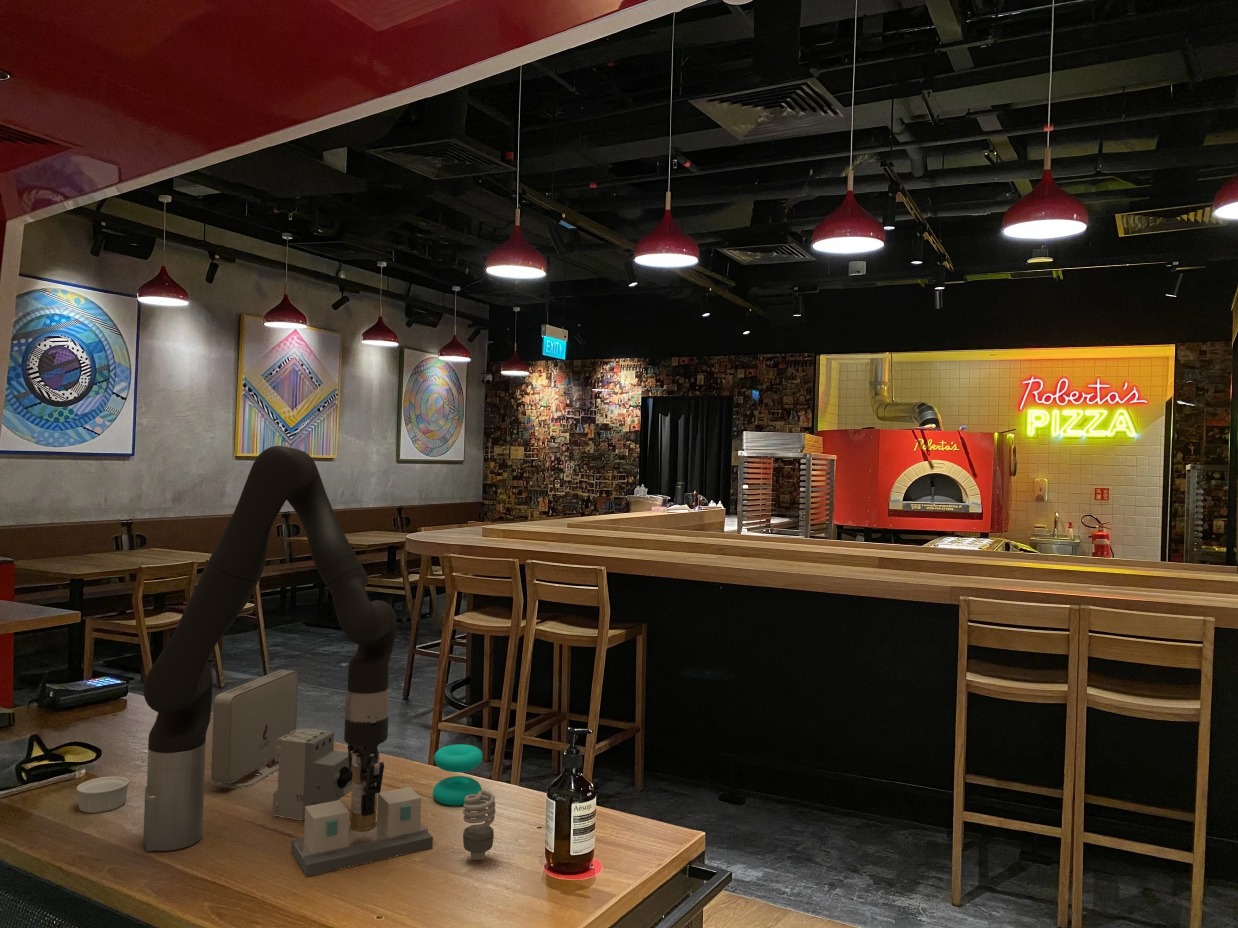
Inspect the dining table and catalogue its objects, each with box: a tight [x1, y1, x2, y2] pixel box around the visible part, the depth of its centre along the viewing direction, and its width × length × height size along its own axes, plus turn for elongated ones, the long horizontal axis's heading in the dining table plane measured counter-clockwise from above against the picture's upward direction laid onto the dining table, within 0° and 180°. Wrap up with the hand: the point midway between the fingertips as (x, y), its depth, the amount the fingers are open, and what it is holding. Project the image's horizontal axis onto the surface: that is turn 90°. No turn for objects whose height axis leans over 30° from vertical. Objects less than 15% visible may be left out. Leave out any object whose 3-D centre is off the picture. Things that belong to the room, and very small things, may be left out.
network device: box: [210, 669, 299, 789], centre depth 188 cm, size 26×9×20 cm, turn 170°
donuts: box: [432, 743, 484, 806], centre depth 177 cm, size 10×10×10 cm
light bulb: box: [462, 790, 496, 862], centre depth 149 cm, size 6×6×12 cm
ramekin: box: [76, 776, 130, 814], centre depth 167 cm, size 9×9×4 cm
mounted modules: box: [303, 786, 422, 854], centre depth 152 cm, size 19×7×6 cm, turn 124°
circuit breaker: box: [272, 727, 352, 820], centre depth 167 cm, size 8×14×15 cm, turn 78°
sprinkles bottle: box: [349, 753, 378, 832], centre depth 152 cm, size 5×5×14 cm
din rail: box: [295, 821, 429, 859], centre depth 152 cm, size 22×6×1 cm, turn 124°
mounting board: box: [290, 821, 434, 878], centre depth 152 cm, size 22×11×2 cm, turn 124°
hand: (363, 809), depth 152 cm, fingers closed on sprinkles bottle, 4 cm apart
